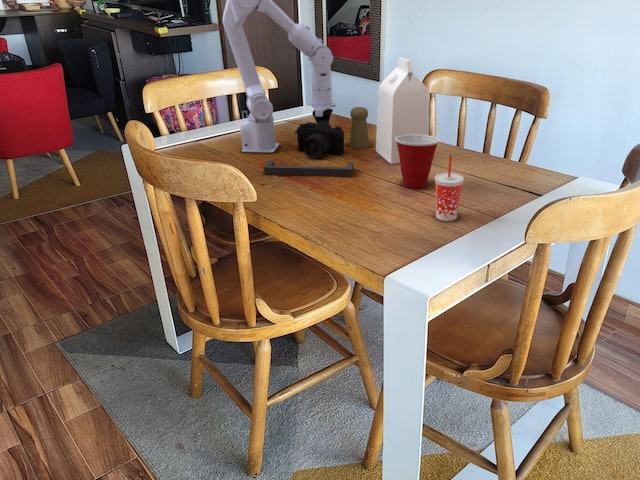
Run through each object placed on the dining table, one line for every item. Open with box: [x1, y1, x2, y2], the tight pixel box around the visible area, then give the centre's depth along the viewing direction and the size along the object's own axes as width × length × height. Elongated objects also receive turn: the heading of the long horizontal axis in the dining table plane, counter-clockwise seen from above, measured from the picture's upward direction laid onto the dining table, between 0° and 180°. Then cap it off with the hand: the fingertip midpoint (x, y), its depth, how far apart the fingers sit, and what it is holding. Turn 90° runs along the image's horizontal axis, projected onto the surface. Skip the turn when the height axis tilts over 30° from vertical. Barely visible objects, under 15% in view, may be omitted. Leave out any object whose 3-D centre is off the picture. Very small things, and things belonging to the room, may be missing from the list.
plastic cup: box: [395, 134, 440, 190], centre depth 140 cm, size 11×11×12 cm
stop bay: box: [263, 159, 355, 177], centre depth 151 cm, size 23×6×2 cm, turn 85°
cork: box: [349, 106, 371, 149], centre depth 169 cm, size 6×6×11 cm
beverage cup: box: [434, 154, 465, 222], centre depth 122 cm, size 6×6×14 cm
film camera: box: [294, 120, 346, 159], centre depth 162 cm, size 15×10×9 cm, turn 70°
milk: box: [375, 56, 430, 165], centre depth 156 cm, size 12×12×26 cm
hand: (323, 134), depth 172 cm, fingers closed
